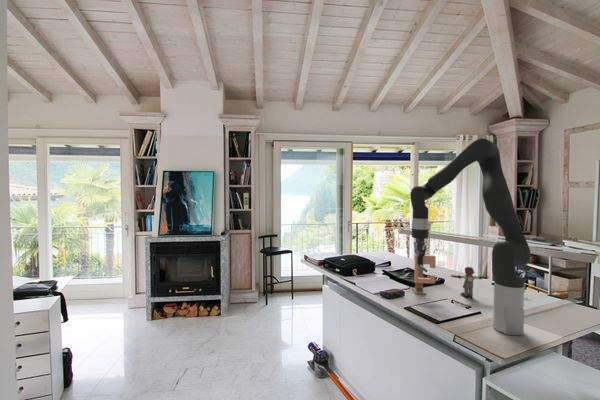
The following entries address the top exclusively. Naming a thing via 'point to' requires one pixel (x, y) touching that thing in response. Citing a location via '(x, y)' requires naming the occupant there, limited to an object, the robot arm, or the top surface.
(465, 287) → the toy
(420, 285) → the stand
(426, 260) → the tan c-shaped block
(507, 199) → the robot arm
